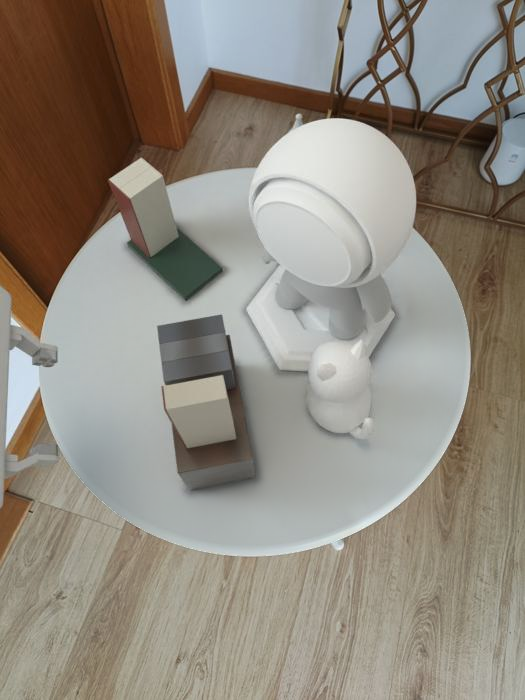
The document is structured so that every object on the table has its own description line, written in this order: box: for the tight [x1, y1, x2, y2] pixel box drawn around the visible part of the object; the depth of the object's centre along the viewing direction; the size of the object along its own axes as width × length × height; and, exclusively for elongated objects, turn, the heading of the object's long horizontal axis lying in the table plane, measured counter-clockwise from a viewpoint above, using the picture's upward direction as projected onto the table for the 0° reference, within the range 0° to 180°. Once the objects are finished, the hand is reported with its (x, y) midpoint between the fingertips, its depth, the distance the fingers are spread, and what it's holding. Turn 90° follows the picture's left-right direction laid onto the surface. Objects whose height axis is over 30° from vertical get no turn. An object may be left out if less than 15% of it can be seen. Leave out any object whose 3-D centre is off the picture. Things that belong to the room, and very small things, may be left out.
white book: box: [161, 375, 236, 449], centre depth 58 cm, size 6×2×14 cm, turn 101°
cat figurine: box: [305, 340, 376, 440], centre depth 69 cm, size 9×12×15 cm
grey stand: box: [156, 314, 256, 491], centre depth 69 cm, size 9×17×16 cm, turn 11°
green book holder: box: [107, 157, 224, 302], centre depth 82 cm, size 8×15×15 cm, turn 44°
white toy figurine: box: [245, 117, 417, 373], centre depth 67 cm, size 20×23×35 cm
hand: (55, 404), depth 48 cm, fingers open, 8 cm apart
